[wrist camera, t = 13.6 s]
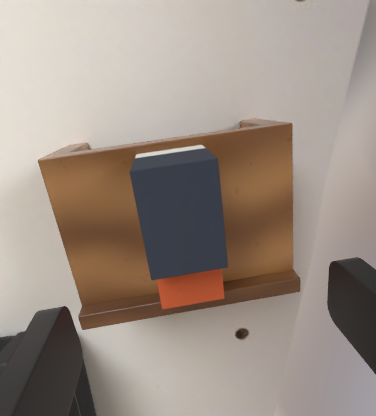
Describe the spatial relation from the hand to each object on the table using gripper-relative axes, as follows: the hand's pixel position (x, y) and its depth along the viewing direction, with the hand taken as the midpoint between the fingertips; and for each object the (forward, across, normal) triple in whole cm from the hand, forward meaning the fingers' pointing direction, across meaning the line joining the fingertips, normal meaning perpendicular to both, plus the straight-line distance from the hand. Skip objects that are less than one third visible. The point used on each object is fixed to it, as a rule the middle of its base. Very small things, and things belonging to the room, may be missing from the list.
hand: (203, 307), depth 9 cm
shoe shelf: (+18, 0, +2) cm, 18 cm away
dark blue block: (+11, 0, +2) cm, 11 cm away
